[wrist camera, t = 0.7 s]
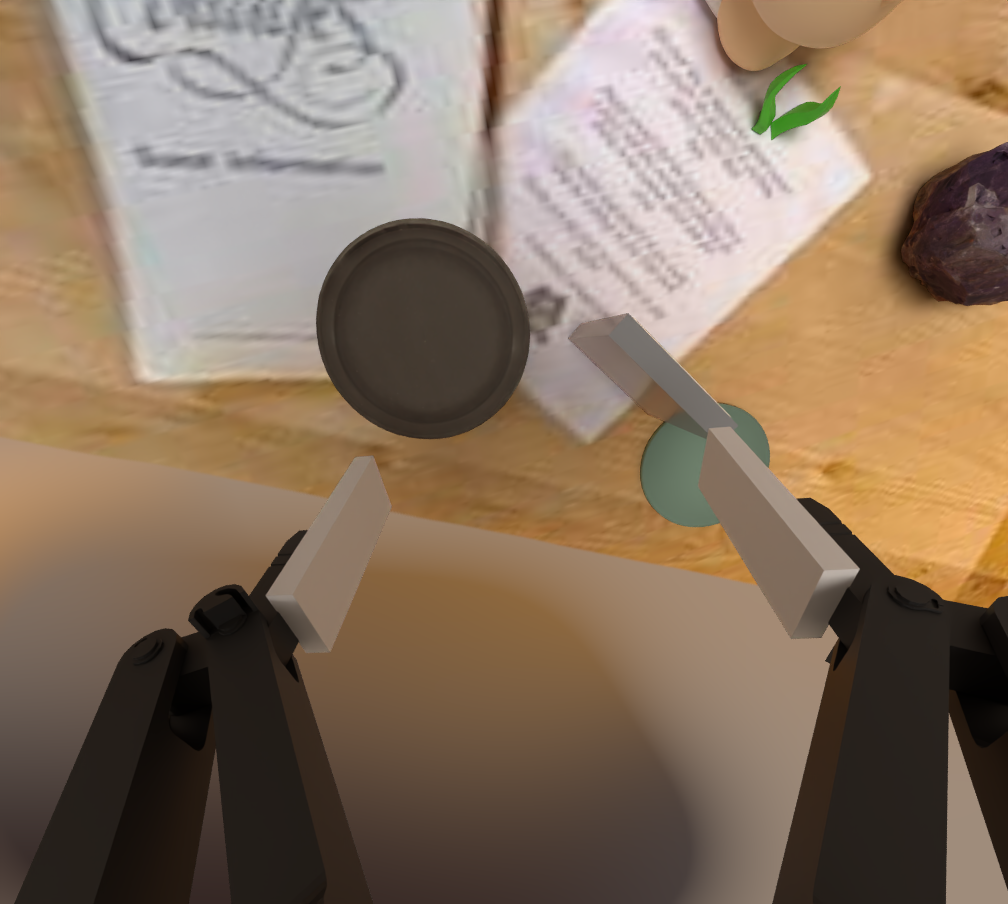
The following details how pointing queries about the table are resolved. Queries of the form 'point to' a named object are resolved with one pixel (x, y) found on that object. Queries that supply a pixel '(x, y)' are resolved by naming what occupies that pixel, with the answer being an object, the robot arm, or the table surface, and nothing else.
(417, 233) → the coffee can
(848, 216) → the table surface
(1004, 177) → the rock
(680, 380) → the slate tile
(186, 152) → the table surface
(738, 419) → the coaster
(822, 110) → the kitten
